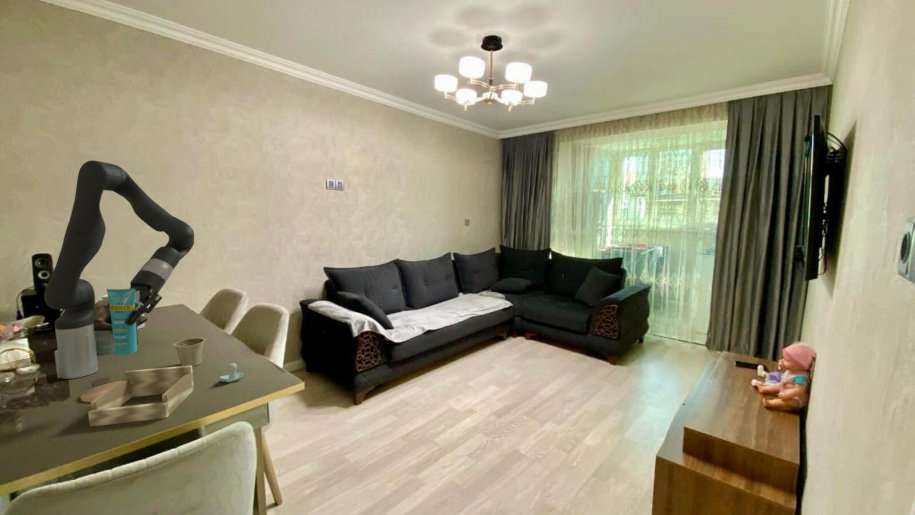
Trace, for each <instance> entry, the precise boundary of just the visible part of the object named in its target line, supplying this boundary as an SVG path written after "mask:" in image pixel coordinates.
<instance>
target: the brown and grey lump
mask: <svg viewBox="0 0 915 515" xmlns="http://www.w3.org/2000/svg"><path fill="white" fill-rule="evenodd" d="M108 303H109V299H107V300H103V299H100V300H98V301H97V302H95V316H94V318H93V324H94V333H95V342H96V351H97V357H98V356H99V355H100V356H106V355H105V354H107V355H111V354H115V349H114V338H113V329H112V324H107V323H105V322H104V319H105V317H106V316H107V315H108V313H109V312H110V309H109V308H107V305H108ZM147 321H148V317H147V316H145V315H144V316H142V315H140V317H139V318H138V319H137V321H136V338H137V345H138V344H139V329H137V327H138V326H140V325H141V324H143V323H145V324H146V322H147ZM100 356H99V357H100Z"/></svg>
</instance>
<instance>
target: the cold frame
mask: <svg viewBox="0 0 915 515" xmlns="http://www.w3.org/2000/svg"><path fill="white" fill-rule="evenodd" d="M120 381H121V382H120V383H119V384H117V385H116V386H114V387H113V388H111V389H110V390H108V391H107V392H105V393H104V394H103V395H101V396H100V397H98V398H97V399H95V400H94V401H92V402H90V408H91V409H90V410H89V411H88V422H89V427H99V426H105V425H106V426H107V425H114V424H115V425H118V424H124V423H133V422H142V421H150V420H159V419H161V420H162V419H167V418H168V417H169V416H170V415H171V414H172V413H173V412H174V411H175V410H177V408H178V407H179V406H180V405H181V403H182V402H184V400H185V399H187V398H188V396H190V394H191V393H192V392H194V390H195V386H194V385H195V384H194V370H193V367H192V365H191V366H181V365H180V366H171V367H170V366H169V367H158V368H146V369H134V370H126V371H125V372H124V379H123V380H120ZM156 395H161V399H162V402H154V403H153V402H152V403H145V404H134V405H127V406H125V405H124V404H125V403H126V402H128V400H130V399H131V398H138V397H148V396H156ZM122 405H124V406H122Z"/></svg>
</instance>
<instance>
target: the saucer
mask: <svg viewBox="0 0 915 515" xmlns="http://www.w3.org/2000/svg"><path fill="white" fill-rule="evenodd" d="M121 381H122V380H118V381H111V382H108V383H104V384H100V385H98V386H94V387H92V388H89V389H88V390H86V391H84V392H82V393H81V395H80V401H81V402H83V403H91V402H92V401H94V400H95V399H97V398H98V397H100V396H101V395H103V394H104V393H105V392H107V391H108V390H110V389H111V388H113V387H114V386H116V385H117V384H119V383H120V382H121Z"/></svg>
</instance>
